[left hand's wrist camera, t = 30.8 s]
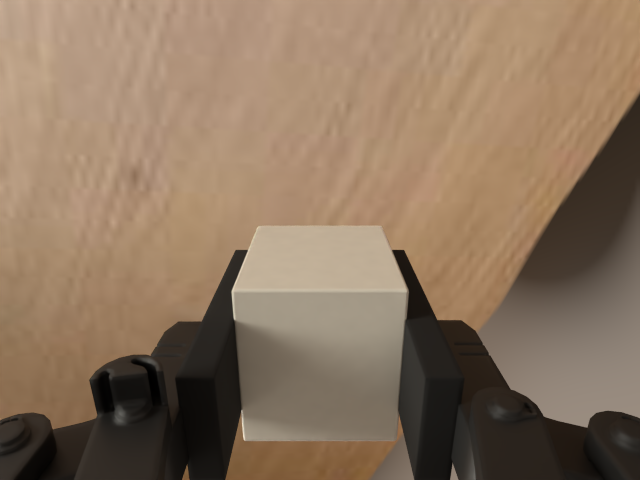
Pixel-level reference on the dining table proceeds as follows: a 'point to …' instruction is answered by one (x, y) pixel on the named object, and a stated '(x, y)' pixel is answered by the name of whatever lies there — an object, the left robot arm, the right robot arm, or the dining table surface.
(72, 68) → the dining table surface
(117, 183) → the dining table surface
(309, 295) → the block
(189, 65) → the dining table surface
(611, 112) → the dining table surface
